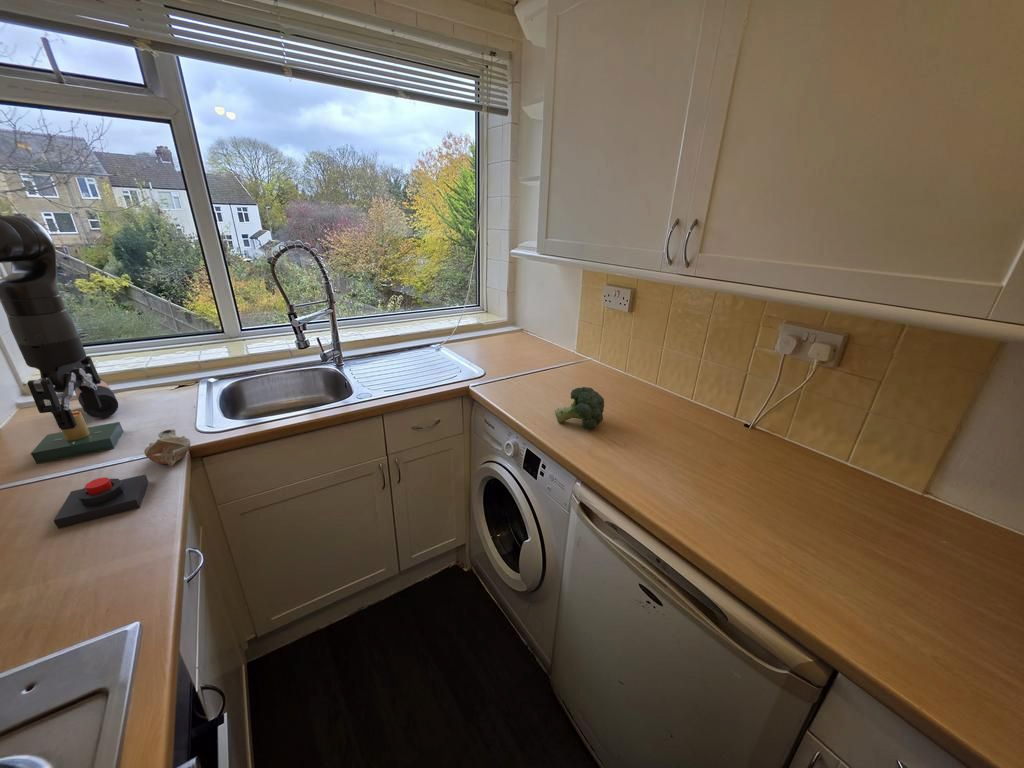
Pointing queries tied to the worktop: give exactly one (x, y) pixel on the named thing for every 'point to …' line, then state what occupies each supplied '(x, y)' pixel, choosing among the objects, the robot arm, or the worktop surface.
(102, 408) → the travel mug
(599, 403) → the vegetable
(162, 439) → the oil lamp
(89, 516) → the switch block
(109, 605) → the worktop surface
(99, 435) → the dimmer panel
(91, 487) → the light button
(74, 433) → the dimmer knob
